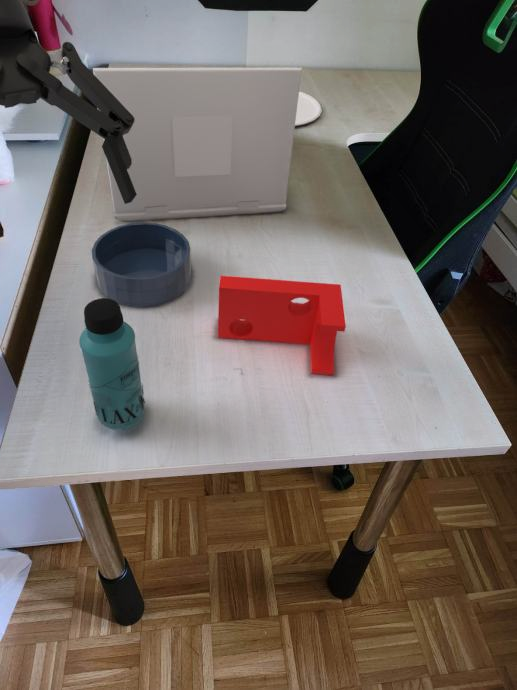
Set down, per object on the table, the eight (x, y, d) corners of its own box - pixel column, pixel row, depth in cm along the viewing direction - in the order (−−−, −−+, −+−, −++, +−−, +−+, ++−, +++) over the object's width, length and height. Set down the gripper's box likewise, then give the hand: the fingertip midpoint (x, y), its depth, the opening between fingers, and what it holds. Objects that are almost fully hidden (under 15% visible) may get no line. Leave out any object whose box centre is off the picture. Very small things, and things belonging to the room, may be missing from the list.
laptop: (258, 156, 127) (267, 24, 106) (285, 214, 109) (302, 69, 89) (111, 161, 120) (92, 21, 99) (115, 224, 102) (92, 70, 82)
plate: (245, 81, 161) (245, 77, 160) (334, 102, 154) (335, 98, 153) (201, 114, 142) (201, 109, 141) (301, 139, 135) (301, 134, 134)
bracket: (340, 280, 78) (345, 326, 71) (328, 329, 85) (333, 375, 78) (221, 271, 77) (214, 316, 70) (220, 321, 85) (214, 367, 78)
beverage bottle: (89, 432, 68) (58, 322, 54) (110, 394, 73) (86, 283, 58) (136, 443, 68) (116, 334, 53) (154, 404, 72) (141, 295, 58)
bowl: (99, 312, 84) (93, 284, 80) (95, 254, 95) (90, 226, 91) (198, 301, 88) (197, 273, 83) (183, 246, 98) (182, 219, 94)
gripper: (98, 18, 59) (168, 197, 61) (-157, 44, 48) (-61, 259, 51) (111, -28, 52) (188, 175, 55) (-183, -10, 41) (-70, 241, 44)
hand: (68, 216), depth 53 cm, fingers open, 13 cm apart
